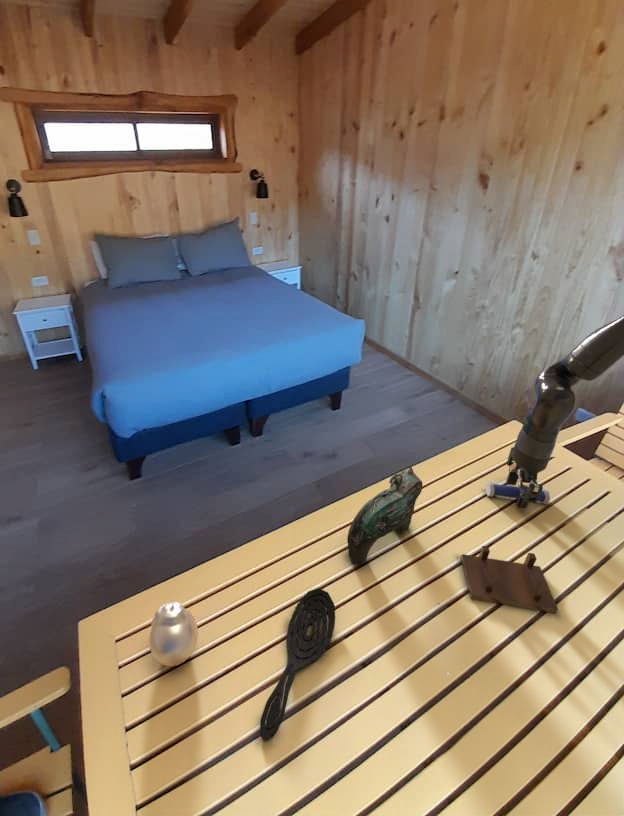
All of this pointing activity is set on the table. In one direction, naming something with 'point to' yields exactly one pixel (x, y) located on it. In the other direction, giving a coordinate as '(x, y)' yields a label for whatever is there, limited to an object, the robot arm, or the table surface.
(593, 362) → the robot arm
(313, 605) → the hairbrush
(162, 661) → the silver rounded egg shape
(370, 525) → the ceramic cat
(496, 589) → the holder
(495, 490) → the handle
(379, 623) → the table surface
